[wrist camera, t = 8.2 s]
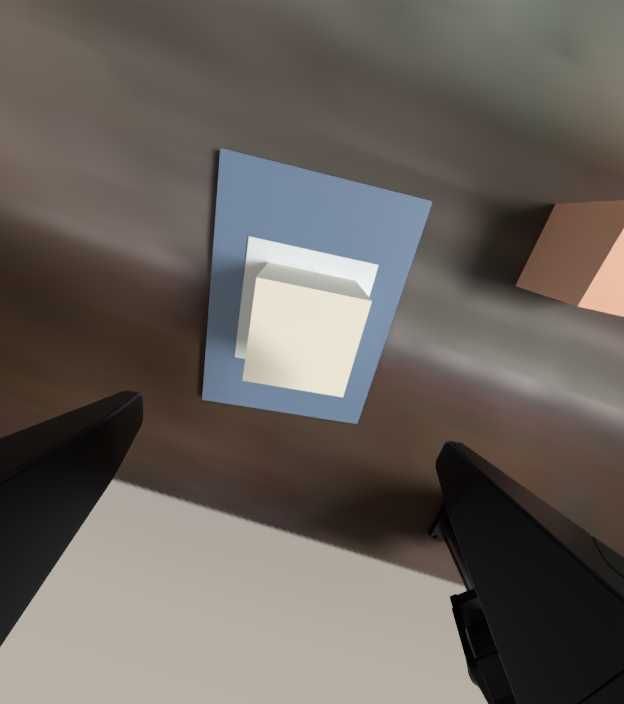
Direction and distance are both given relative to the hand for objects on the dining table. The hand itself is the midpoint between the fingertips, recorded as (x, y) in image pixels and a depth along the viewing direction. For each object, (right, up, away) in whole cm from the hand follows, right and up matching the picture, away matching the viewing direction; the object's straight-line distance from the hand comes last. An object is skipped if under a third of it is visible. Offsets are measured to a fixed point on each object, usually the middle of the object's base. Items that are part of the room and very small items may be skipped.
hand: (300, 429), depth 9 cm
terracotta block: (+17, +8, +10) cm, 21 cm away
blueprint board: (0, +5, +11) cm, 12 cm away
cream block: (0, +5, +11) cm, 12 cm away
